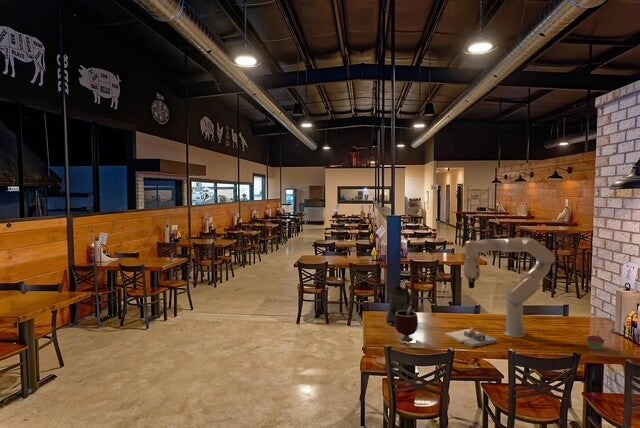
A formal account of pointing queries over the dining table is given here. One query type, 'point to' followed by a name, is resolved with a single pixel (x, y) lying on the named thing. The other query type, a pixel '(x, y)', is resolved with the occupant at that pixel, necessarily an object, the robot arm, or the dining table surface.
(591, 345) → the cupcake
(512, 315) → the robot arm
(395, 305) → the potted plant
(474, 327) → the bolt
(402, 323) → the mate gourd
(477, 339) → the grey flat board
